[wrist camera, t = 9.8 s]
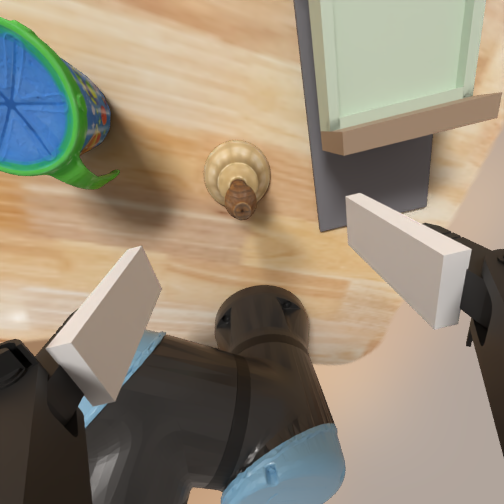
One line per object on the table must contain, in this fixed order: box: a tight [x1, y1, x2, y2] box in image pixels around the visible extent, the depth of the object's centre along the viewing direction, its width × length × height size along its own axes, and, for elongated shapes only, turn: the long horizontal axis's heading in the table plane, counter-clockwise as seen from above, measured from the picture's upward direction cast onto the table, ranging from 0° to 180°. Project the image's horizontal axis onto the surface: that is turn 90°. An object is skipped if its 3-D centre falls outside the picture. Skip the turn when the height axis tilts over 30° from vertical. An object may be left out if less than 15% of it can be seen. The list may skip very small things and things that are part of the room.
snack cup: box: [0, 17, 120, 189], centre depth 23 cm, size 16×10×10 cm
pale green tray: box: [308, 0, 502, 156], centre depth 23 cm, size 16×14×8 cm
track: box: [294, 0, 433, 232], centre depth 28 cm, size 30×15×3 cm, turn 13°
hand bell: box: [204, 140, 270, 220], centre depth 25 cm, size 8×8×16 cm
